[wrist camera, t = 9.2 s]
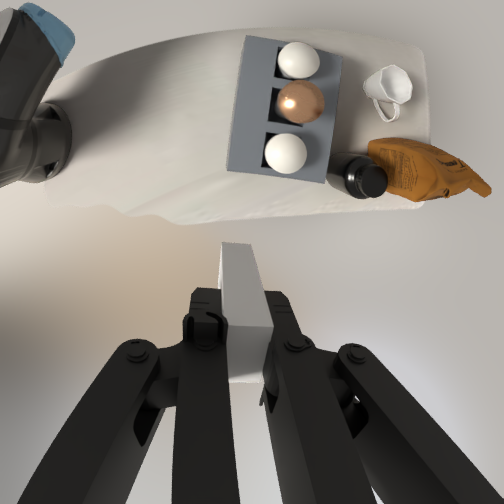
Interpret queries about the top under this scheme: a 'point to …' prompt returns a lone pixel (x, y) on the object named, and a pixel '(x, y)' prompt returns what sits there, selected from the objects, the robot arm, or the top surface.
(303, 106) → the brown lidded jar
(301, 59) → the knob
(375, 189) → the supplement bottle
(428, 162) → the coffee package
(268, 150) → the knob
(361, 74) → the top surface
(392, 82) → the cup
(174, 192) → the top surface
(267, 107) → the grey pod holder
